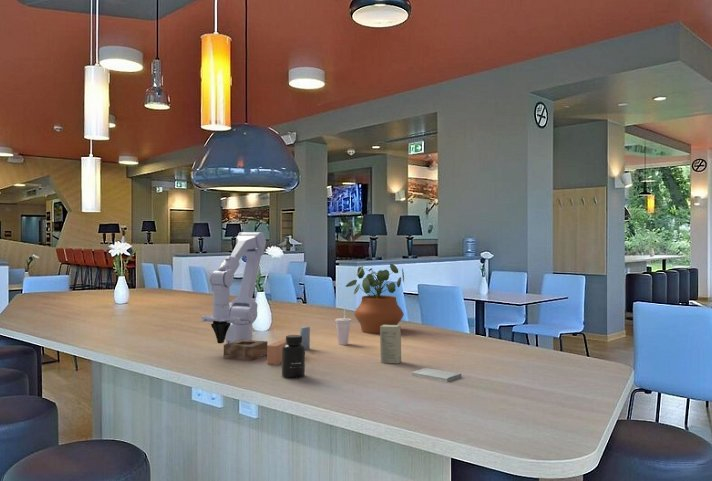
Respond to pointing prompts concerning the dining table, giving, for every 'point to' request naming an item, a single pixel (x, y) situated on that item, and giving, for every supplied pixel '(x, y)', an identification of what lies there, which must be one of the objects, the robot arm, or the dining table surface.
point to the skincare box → (390, 343)
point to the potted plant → (377, 301)
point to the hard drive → (436, 374)
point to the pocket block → (245, 349)
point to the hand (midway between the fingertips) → (220, 342)
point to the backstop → (275, 352)
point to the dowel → (305, 337)
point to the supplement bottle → (293, 357)
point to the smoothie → (343, 329)
